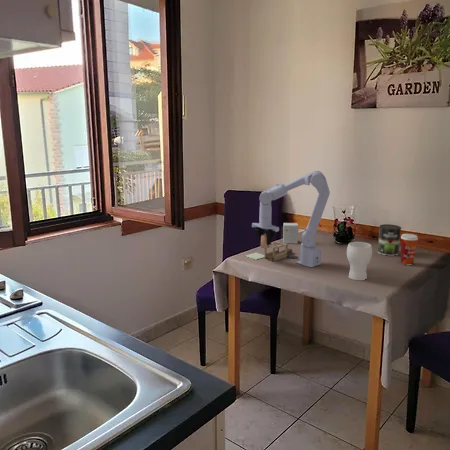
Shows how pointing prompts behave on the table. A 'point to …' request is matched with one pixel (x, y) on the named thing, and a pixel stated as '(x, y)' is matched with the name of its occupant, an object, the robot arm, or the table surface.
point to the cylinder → (264, 241)
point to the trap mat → (292, 256)
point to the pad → (255, 256)
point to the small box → (290, 233)
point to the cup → (358, 259)
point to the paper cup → (408, 248)
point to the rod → (270, 258)
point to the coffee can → (389, 239)
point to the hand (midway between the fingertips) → (264, 243)
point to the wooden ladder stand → (276, 251)
